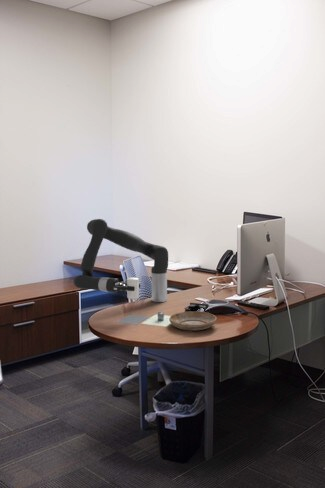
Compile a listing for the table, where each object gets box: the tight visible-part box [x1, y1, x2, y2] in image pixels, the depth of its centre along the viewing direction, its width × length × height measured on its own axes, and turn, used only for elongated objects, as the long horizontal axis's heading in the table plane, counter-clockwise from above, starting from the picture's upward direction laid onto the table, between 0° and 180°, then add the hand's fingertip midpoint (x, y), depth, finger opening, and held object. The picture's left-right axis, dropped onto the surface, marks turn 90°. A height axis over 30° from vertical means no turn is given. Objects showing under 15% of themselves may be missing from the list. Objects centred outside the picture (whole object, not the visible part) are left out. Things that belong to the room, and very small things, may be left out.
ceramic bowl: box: [169, 311, 217, 331], centre depth 256 cm, size 23×24×5 cm
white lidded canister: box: [126, 277, 140, 300], centre depth 267 cm, size 6×6×10 cm
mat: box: [115, 313, 151, 326], centre depth 269 cm, size 16×12×1 cm
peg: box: [157, 311, 165, 321], centre depth 267 cm, size 3×3×4 cm
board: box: [140, 313, 172, 328], centre depth 267 cm, size 18×14×1 cm
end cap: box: [187, 302, 210, 313], centre depth 275 cm, size 10×7×7 cm
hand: (137, 287), depth 266 cm, fingers closed on white lidded canister, 6 cm apart
